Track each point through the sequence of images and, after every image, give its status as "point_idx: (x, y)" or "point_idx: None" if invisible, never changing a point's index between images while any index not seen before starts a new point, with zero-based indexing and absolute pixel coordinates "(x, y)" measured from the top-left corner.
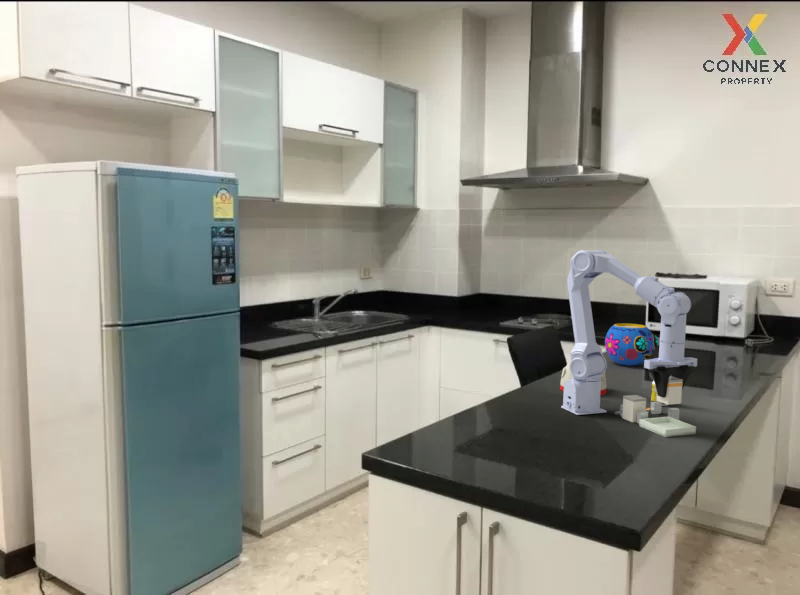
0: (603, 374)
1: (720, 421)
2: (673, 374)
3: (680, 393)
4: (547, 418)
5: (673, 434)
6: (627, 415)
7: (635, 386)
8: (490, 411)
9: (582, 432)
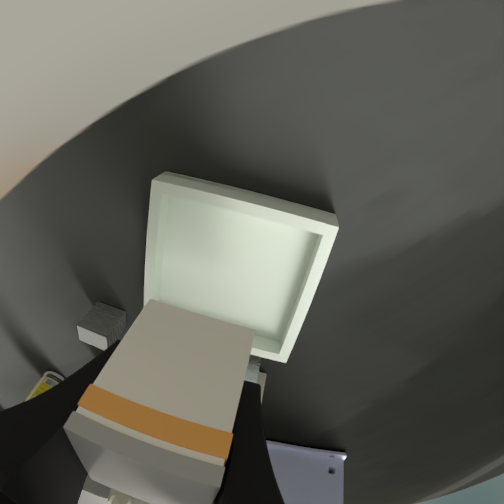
0: (125, 500)
1: (2, 223)
2: (78, 481)
3: (130, 347)
4: (421, 455)
5: (289, 204)
6: None
7: None
8: (442, 487)
9: (485, 375)
